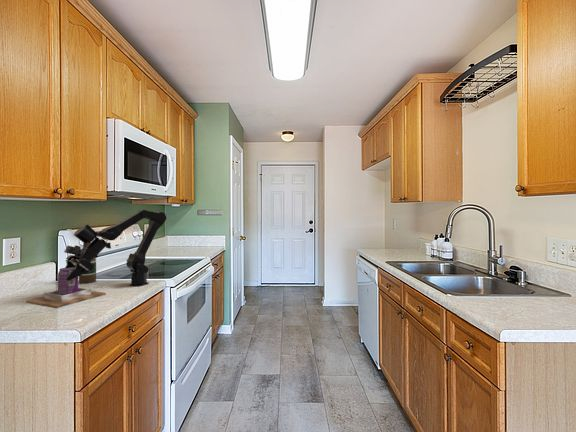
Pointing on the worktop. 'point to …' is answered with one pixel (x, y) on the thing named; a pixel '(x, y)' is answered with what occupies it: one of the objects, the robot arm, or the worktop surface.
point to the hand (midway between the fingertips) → (64, 278)
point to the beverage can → (66, 282)
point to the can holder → (65, 298)
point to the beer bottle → (90, 275)
